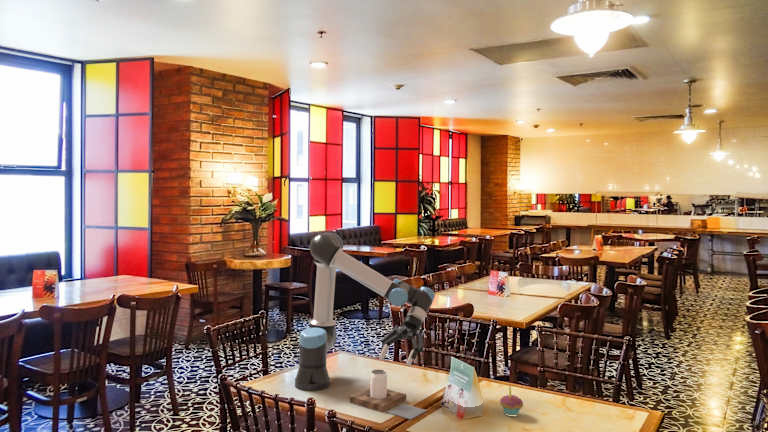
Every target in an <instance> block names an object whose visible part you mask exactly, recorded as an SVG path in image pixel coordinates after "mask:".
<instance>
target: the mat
mask: <svg viewBox="0 0 768 432" xmlns="http://www.w3.org/2000/svg"><path fill="white" fill-rule="evenodd" d="M427 411H428V410H427V409H424V408H420V407H417V406H414V405H410V404H406V403H400V404H398V405H396V406H394V407H392V408H390V409H388V410H386V414H390V415H393V416H397V417H400V418H402V419H406V420H410V421H411V420H413V419H415V418H417V417H419V416H421V415H422V414H425V413H426V412H427Z"/></svg>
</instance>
